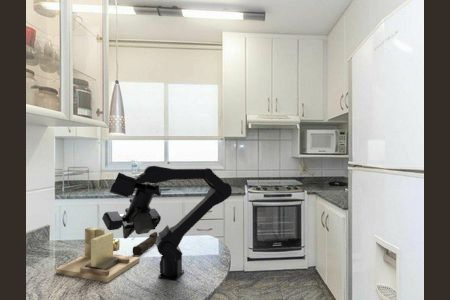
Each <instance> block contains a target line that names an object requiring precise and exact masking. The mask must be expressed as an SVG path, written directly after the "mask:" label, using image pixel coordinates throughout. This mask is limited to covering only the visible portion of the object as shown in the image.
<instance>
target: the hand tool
mask: <svg viewBox="0 0 450 300" xmlns="http://www.w3.org/2000/svg"><path fill="white" fill-rule="evenodd" d="M158 236H159V234H158V231H153V232H152V233H150V234H149V235H148V237H147V238H146V239H144V240H143V241H141V242H140V243H139V244H137V245H135V246H133V247H132V254H133V255H134V256H141V255H142V254H143V253H144V251H146V249H148V248H149V247H151V246H152V245H156V239H157V237H158Z"/></svg>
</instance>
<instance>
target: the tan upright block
mask: <svg viewBox="0 0 450 300" xmlns="http://www.w3.org/2000/svg"><path fill="white" fill-rule="evenodd" d="M120 241H121V240H120V239H119V238H114V232H110V231H109V232H105V234H103V235H101V236H98V237H96V238H93V239H91V263H89V264H87V265H85V267H87V268H94V269H100V270H107V269H109V268H110V267H112V266H114V265H115V264H117V263H119V258H113V254H114V252H118V251H120V243H121V242H120Z"/></svg>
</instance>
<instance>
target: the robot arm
mask: <svg viewBox="0 0 450 300" xmlns="http://www.w3.org/2000/svg"><path fill="white" fill-rule="evenodd" d="M171 180H204V182H205V183H206V184H207V185H208V187H209V189H207V192H206V195H205V196H204V198H202V199H201V201H199V203H197V204H196V205H195V206H194V207H193V208H192V209H191V210H190V211H189V212H188V213H187V214H186V215H185V216H184V217H183V218H181V219H180V220H179V222H177V224H174V226H171V227H170V226H169V225H168V224H166V226H165V227H164V229H162V230H161V231H159V232H157V234H158V237H157V239H156V243H155V245H156V249H157V252H158V253H159V255H160V260H159V274H158V275H157V277H158V278H159V279H164V280H165V279H166V280H172V281H177V279H179V278H180V276H182V274H183V273H185V270H184V269H183V251H181V248H180V246H179V245H180V244H181V242H182V240H183V238H184V236H185V235H186V234H187V233H188V232H189V231H190V230H191V229H192V228H193V227H194V226H195V225H196V224H197V223H198V222H199V221H200V220H201V219H203V217H205V215H206V214H207V213H209V212H210V210H211V209H212V208H213V207H215V206H217V205H219V204H221V203H223V202H224V201H226V200H227V199H229V198H230V196H231V195H232V192H233V191H232V189H233V188H232V187H231V185H230V183H228V182H224V181H223V179H222V178H220V177H219V176H218V175H217V174H216V173H215V172H214V171H213V170H212V169H211V168H209V167H203V168H171V167H165V166H159V165H154V164H153V165H148V166H146V167H145V169H144V170H143V172H142V173H140V174H139V175H137V176H135V177H134V176H130V175H126V174H125V173H123V172H121V171H120V172H118V173H117V175H116V177H115V180H114V181H113V183H112V186H111V187H110V190H109V194H110V193H111V194H113V195H117V196H121V197H124V198H129V197H131V196H133V194H134V196H133V197H131V198H130V199H129V201H128V202H129V203H130V204H129V207H128V208H127V207H126V208H125V209H124V212H125V214H120V213H119V211H118V210H117V211H106V212H104V213H103V215H102V219H101V220H102V221H103V223H104V224H105V227H106V229H107V230H108V231H115V230H120V229H121V228H122V237H123V239H128V238H129V237H130V236H131V235H132V234H133V233H134V232H135V233H136V235H138V236H139V235H143V234H148V233H150V232H151V230H152V231H153V230H154V231H155V230H156V229H157V227H158V225H159V224H160V222H161V220H162V217H161V215H160V214H159V212H158V210H157V209H156V208H151V207H150V204H151V202H152V200H153V199H154V196H158V197H160V196H162V188H161V187H160V185H159V184H160V183H163V182H167V181H171ZM153 184H158V185H153ZM135 189H136V191H135ZM134 192H135V193H134Z"/></svg>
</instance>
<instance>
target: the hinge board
mask: <svg viewBox="0 0 450 300" xmlns="http://www.w3.org/2000/svg"><path fill="white" fill-rule="evenodd" d="M103 234H106V230H105V228H102V227H101V228H97V227H87V228H84V256H81V257H79V258H77V259H74V260H72V261H70V262H68V263H66V264H64V265H61V266H59V267H57V268H55V273H56V274H60V275H65V276H69V277H78V278H83V279H86V280H87V279H88V280H94V281H98V282H105V283H109V282H110V281H112V280H115V278H117V277H118V276H120V275H122V274H123V273H125V272H127V270H129V269H131V268H132V267H134V266H135V265H136V264H138V263H140V260H141V257H139V256H132V255H131V256H130V255H123V254H116V253H113V258H119V263H117V264H115V265H114V266H112V267H110V268H109V269H107V270H100V269H94V268H87V267H85V265H87V264H89V263H91V239H93V238H96V237H98V236H101V235H103Z"/></svg>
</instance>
